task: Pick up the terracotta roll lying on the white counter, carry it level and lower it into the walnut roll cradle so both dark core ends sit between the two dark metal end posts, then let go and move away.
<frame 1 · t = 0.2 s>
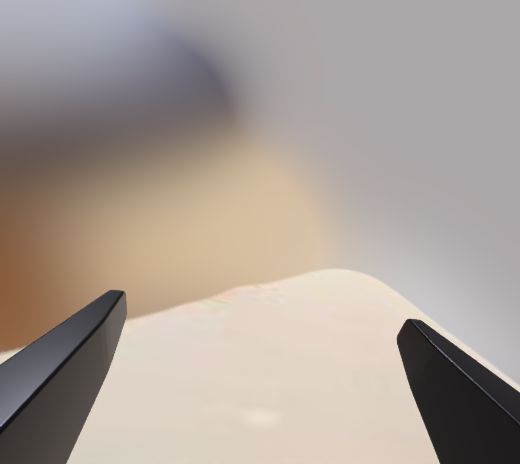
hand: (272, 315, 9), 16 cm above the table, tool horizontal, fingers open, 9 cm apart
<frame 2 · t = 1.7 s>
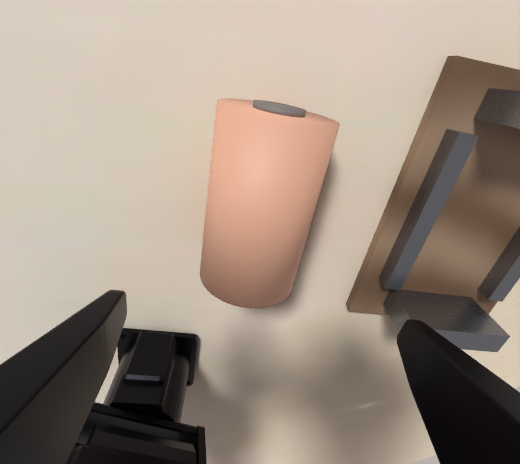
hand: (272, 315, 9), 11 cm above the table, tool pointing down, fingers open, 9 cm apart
roll cradle: (464, 217, 21), on the table
roll: (257, 185, 20), on the table
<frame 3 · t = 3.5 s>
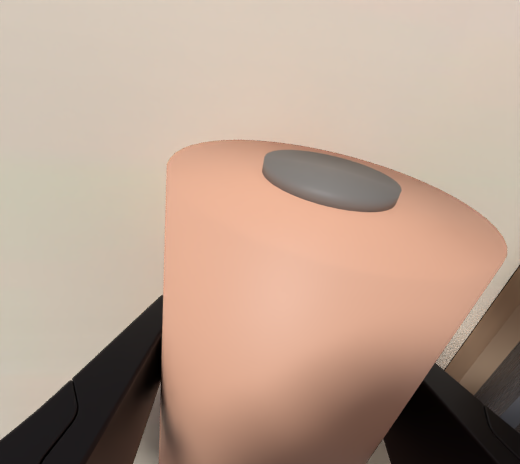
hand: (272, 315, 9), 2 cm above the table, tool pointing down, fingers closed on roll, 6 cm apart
roll: (267, 284, 11), on the table, touching gripper
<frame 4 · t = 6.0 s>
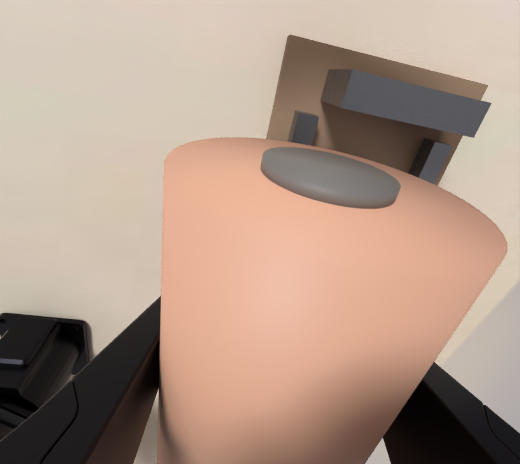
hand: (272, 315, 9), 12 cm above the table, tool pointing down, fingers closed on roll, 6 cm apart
roll cradle: (338, 203, 21), on the table
roll: (266, 283, 11), point 11 cm above the table, touching gripper
when the fingers open (4 cm above the table, at t = 8.8 s): roll drops 1 cm, resting on roll cradle.
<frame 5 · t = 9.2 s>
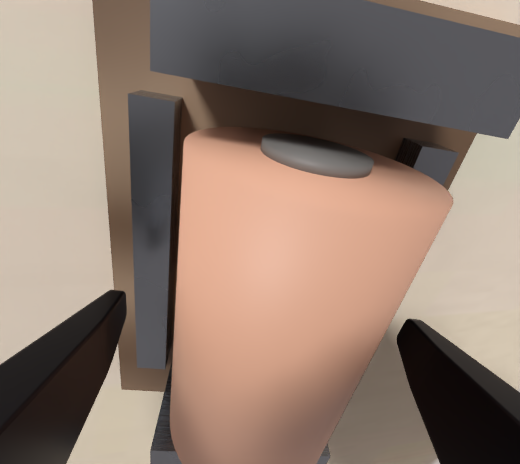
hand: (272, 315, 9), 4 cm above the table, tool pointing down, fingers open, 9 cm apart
roll cradle: (265, 250, 13), on the table
roll: (265, 259, 12), point 1 cm above the table, touching roll cradle
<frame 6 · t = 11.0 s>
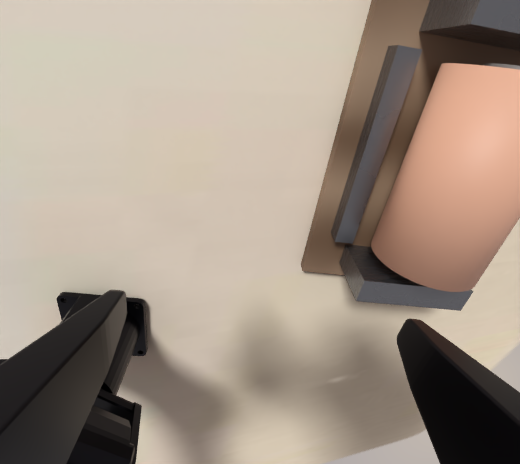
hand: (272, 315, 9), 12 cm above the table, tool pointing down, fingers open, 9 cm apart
roll cradle: (423, 160, 19), on the table
roll: (429, 163, 18), point 1 cm above the table, touching roll cradle
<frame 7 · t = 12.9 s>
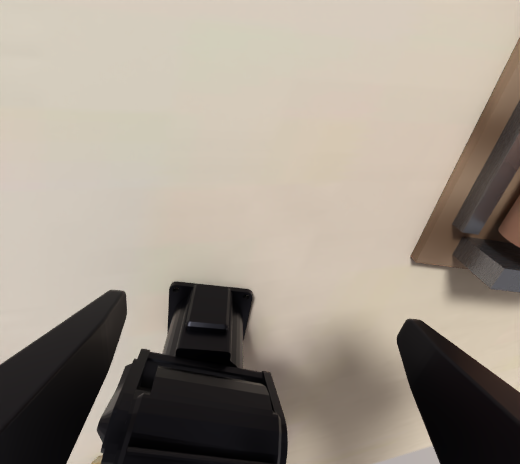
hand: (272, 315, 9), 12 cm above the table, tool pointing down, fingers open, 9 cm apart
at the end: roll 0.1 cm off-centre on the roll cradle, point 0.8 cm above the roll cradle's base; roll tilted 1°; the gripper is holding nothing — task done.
